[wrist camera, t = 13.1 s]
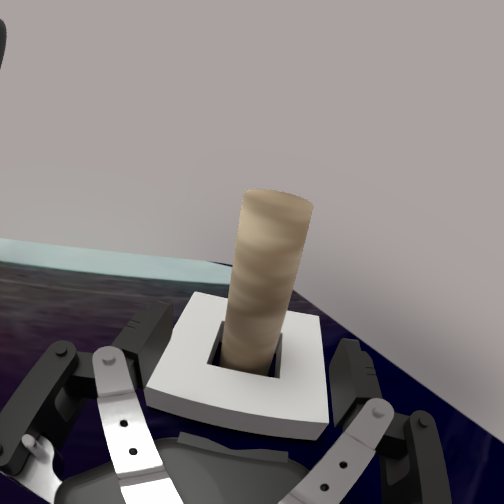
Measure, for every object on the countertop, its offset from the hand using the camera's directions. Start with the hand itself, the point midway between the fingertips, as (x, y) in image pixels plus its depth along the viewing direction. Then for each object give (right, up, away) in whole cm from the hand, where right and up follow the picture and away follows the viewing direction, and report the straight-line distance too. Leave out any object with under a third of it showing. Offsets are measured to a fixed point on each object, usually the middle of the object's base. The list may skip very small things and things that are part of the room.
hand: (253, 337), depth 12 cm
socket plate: (-1, -6, +9) cm, 11 cm away
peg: (-1, -6, +9) cm, 11 cm away
